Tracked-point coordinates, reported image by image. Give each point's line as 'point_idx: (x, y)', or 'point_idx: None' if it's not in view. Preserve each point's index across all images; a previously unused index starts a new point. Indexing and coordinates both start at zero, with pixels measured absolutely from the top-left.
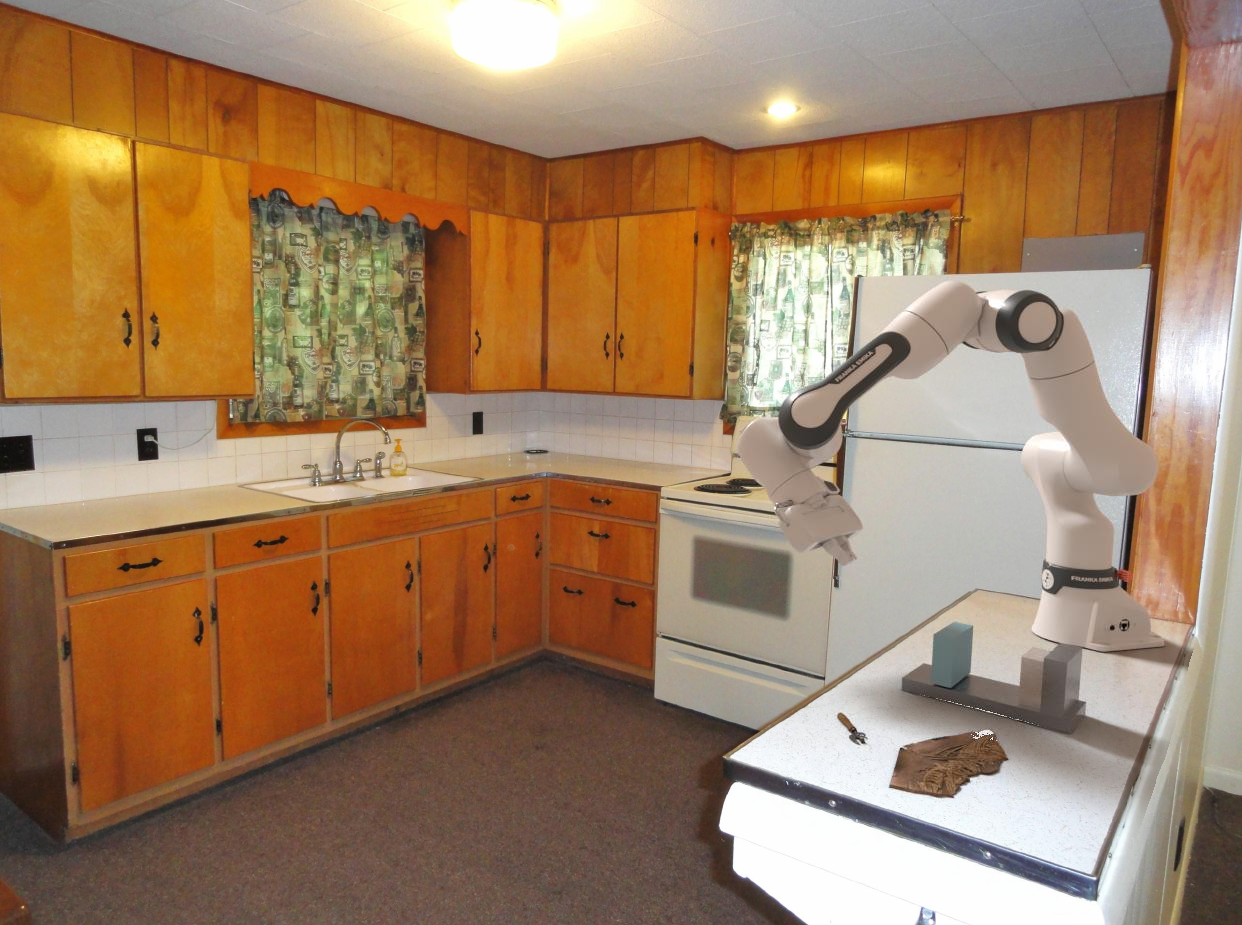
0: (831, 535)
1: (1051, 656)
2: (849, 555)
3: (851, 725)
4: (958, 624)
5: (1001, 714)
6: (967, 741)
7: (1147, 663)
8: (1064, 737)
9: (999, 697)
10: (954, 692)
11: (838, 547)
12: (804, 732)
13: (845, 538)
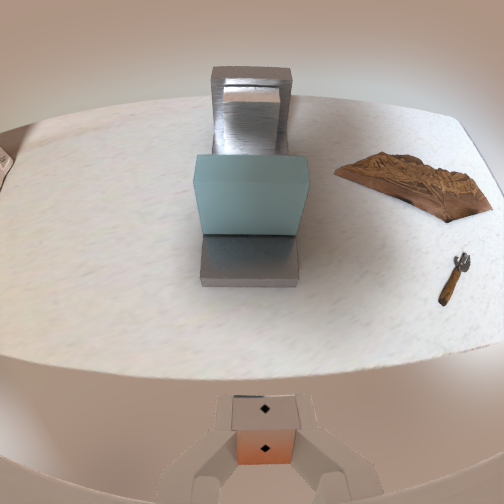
0: (415, 491)
1: (278, 77)
2: (279, 409)
3: (457, 274)
4: (208, 171)
5: None
6: (383, 180)
7: (34, 132)
8: (292, 127)
9: None
10: None
11: (351, 450)
12: (490, 310)
13: (175, 490)
